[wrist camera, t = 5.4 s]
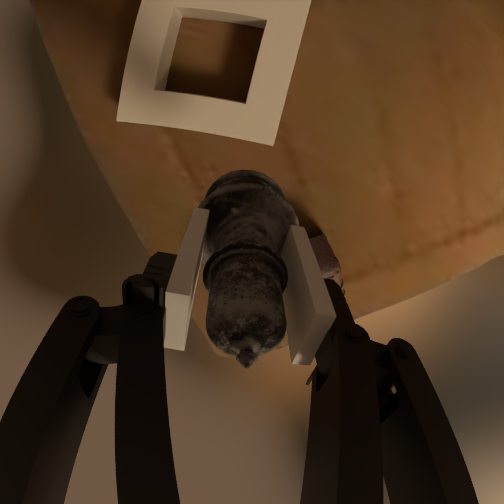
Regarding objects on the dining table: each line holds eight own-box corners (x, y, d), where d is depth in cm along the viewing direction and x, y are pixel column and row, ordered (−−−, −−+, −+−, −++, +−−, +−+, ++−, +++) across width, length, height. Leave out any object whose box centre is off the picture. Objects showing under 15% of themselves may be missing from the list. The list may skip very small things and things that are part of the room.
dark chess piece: (277, 256, 21) (303, 414, 11) (193, 241, 20) (154, 398, 10) (301, 176, 18) (373, 310, 8) (206, 157, 17) (152, 276, 7)
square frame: (160, -10, 22) (149, -23, 18) (302, 11, 24) (311, 0, 20) (131, 116, 30) (116, 121, 26) (269, 139, 32) (273, 146, 28)
